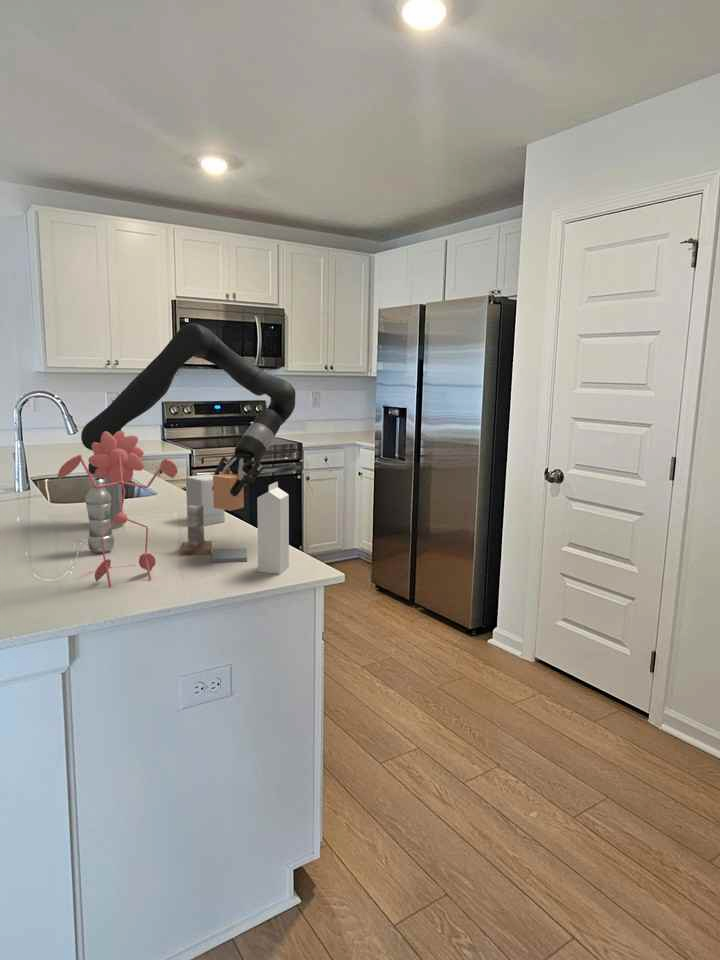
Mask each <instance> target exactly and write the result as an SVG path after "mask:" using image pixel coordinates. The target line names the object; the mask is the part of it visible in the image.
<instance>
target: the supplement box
mask: <svg viewBox="0 0 720 960" xmlns="http://www.w3.org/2000/svg"><path fill="white" fill-rule="evenodd" d="M214 475H215V474H209V473H206V474H198V475H192V476H191V475H190V476H186V477H185V486H186V487H185V491H186V507H187V506H191V505H200V506H203V514H204V526H209V525H214V524H215V525H216V524H220V523H225V521H226V519H225V510H223V509H218V508H214V500H213V490H212V486H213V476H214ZM186 517H187V516H186ZM186 520H187V522H188V517H187V519H186Z"/></svg>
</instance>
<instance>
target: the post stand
mask: <svg viewBox="0 0 720 960" xmlns="http://www.w3.org/2000/svg"><path fill="white" fill-rule="evenodd" d="M186 517H188V521H187V541H182V542H181V545H180V549H179V556H200V555H202V556H203V555H205V556H206V555H212V551H213V541H212V540H205V525H204V514H203V506H200V505H191V506H187V505H186Z"/></svg>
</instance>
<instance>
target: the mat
mask: <svg viewBox="0 0 720 960" xmlns="http://www.w3.org/2000/svg"><path fill="white" fill-rule="evenodd" d="M247 552H248V551H247V547H240V548H239V547H238V548H237V547H235V548H212V551H211V564H212V563H214V564H215V563H234V562H236V563H237V562H238V563H239V562H242V563H243V562H248V555H247V554H248V553H247Z"/></svg>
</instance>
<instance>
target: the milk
mask: <svg viewBox="0 0 720 960" xmlns="http://www.w3.org/2000/svg"><path fill="white" fill-rule="evenodd" d="M289 497H290V496H289V493H287V492H286V491H284V490H282V489H281V488H280V487H279V482H278V481H275V482H273V483H271V484H269V485H268V491H267V492H266V493H263V494H261V495H260V496H258V497H257V499H256V500H257V501H256V503H257V504H256V505H257V511H256V512H257V572H258V573H267V574H277V575H280V574H282V573H283V572H285V571H286V570H287V569H288V568H289V566H290V563H289V562H290V561H289V560H290V557H289V556H290V550H289V549H290V541H289V539H290V538H289V537H290V535H289V534H290V530H289V529H290V526H289V524H290V523H289V522H290V521H289V518H290V514H289V513H290V509H289V508H290V506H289V505H290V501H289V500H290V498H289Z"/></svg>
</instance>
